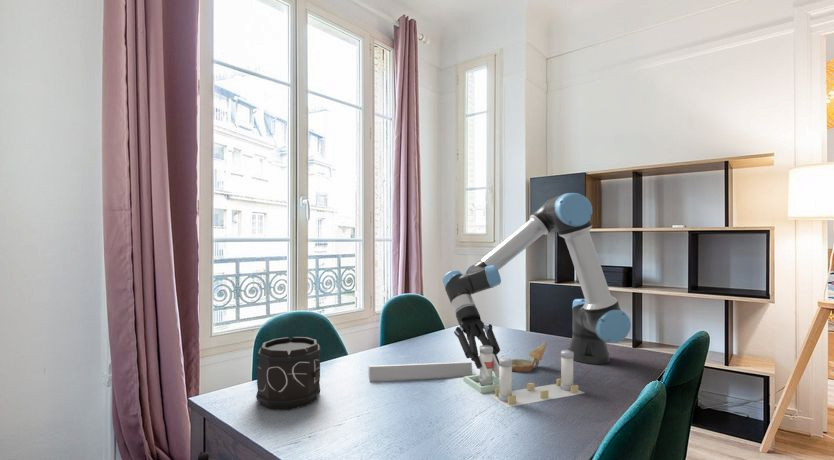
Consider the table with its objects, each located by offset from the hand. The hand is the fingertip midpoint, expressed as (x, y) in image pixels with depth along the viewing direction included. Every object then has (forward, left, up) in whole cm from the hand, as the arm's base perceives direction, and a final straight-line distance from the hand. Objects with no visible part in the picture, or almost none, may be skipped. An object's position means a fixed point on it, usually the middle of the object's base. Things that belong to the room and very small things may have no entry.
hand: (493, 376), depth 120 cm
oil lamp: (-19, -13, -5) cm, 24 cm away
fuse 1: (+1, +8, -4) cm, 9 cm away
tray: (0, -4, -5) cm, 6 cm away
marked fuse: (0, -4, -3) cm, 5 cm away
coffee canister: (+56, -18, -5) cm, 59 cm away
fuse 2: (-21, +8, -4) cm, 23 cm away
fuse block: (-10, +8, -5) cm, 14 cm away
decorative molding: (+13, -24, -6) cm, 29 cm away
